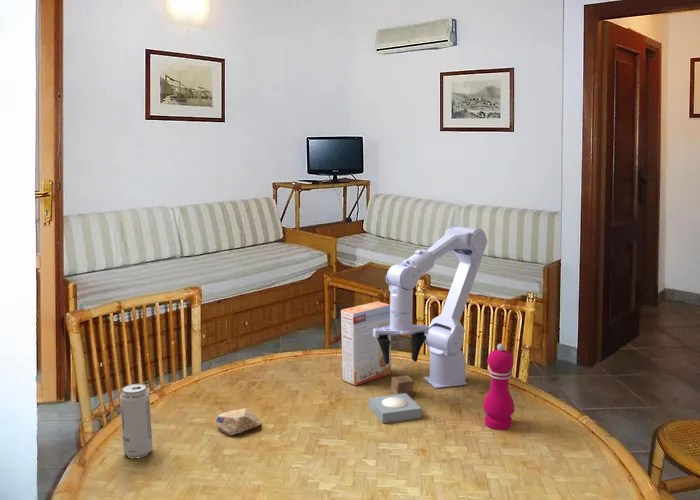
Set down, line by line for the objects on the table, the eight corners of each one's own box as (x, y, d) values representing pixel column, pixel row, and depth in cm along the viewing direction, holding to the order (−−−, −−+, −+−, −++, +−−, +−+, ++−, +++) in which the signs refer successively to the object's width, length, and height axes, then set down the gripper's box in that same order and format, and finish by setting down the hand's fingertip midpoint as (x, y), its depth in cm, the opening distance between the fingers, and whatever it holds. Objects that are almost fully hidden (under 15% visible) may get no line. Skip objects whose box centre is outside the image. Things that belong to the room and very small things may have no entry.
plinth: (405, 402, 174) (405, 392, 174) (421, 417, 165) (421, 407, 164) (369, 407, 171) (369, 397, 171) (382, 423, 162) (382, 412, 161)
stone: (212, 428, 160) (211, 410, 159) (251, 417, 166) (250, 399, 165) (229, 441, 153) (228, 422, 153) (268, 428, 160) (268, 410, 159)
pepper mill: (514, 432, 157) (517, 349, 153) (482, 429, 158) (485, 347, 155) (513, 419, 164) (516, 340, 160) (482, 416, 165) (485, 338, 162)
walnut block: (406, 391, 182) (407, 375, 181) (413, 397, 178) (413, 381, 177) (391, 393, 180) (391, 377, 180) (397, 399, 176) (397, 383, 175)
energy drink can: (123, 449, 149) (118, 385, 146) (151, 445, 151) (147, 381, 148) (124, 461, 143) (119, 395, 141) (153, 456, 145) (149, 391, 143)
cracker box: (377, 369, 198) (377, 300, 195) (391, 374, 194) (392, 304, 190) (340, 380, 190) (340, 308, 186) (354, 386, 185) (354, 312, 181)
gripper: (378, 316, 168) (378, 368, 171) (433, 313, 172) (432, 364, 174) (371, 309, 175) (370, 360, 177) (423, 306, 179) (422, 355, 181)
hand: (400, 361), depth 176 cm, fingers open, 7 cm apart
